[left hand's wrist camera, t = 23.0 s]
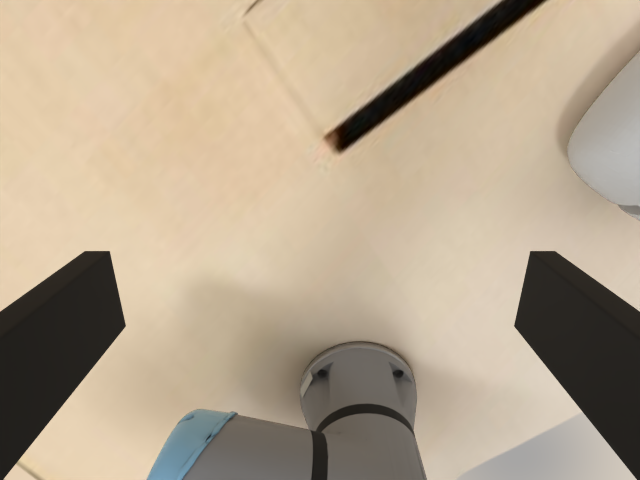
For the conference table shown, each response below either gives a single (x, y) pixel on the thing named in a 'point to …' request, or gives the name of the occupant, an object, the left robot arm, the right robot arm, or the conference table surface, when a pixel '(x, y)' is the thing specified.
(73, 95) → the conference table surface
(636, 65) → the projector
